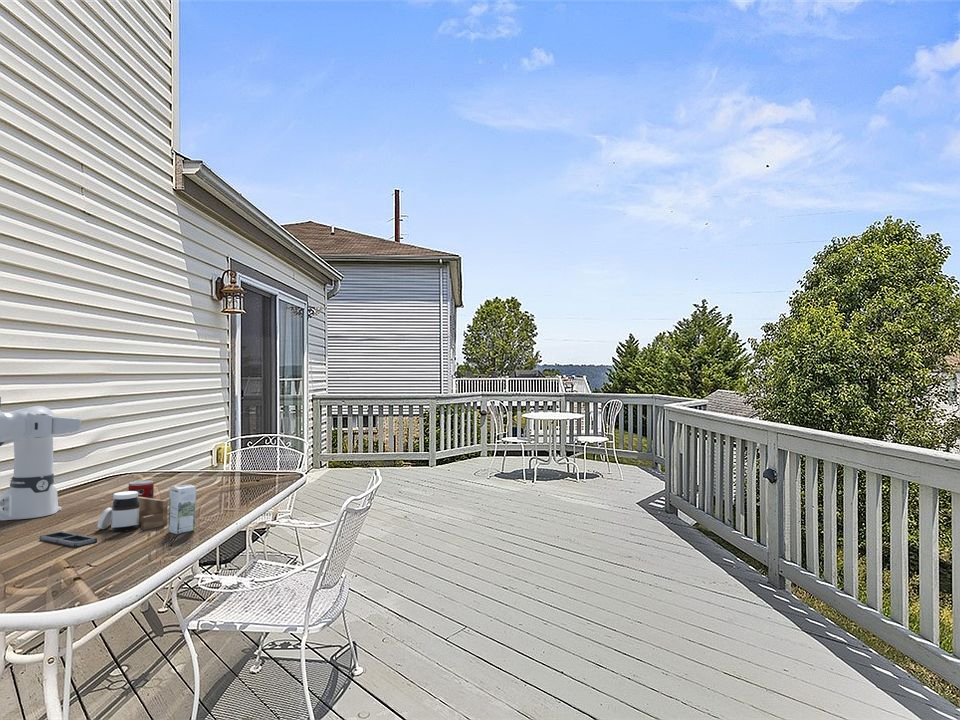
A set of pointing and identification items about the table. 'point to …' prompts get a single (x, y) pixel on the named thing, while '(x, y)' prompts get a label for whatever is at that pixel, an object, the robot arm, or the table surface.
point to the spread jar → (122, 512)
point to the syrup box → (182, 509)
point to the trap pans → (68, 539)
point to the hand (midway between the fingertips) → (78, 422)
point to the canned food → (142, 488)
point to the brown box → (152, 512)
